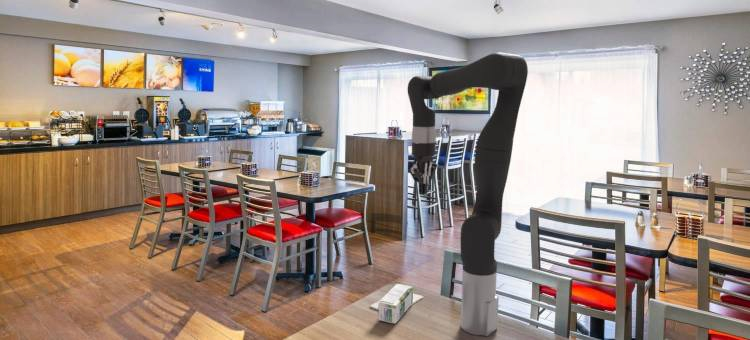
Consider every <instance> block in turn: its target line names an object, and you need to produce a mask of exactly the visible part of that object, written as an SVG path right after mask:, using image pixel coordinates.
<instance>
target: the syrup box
mask: <svg viewBox="0 0 750 340" xmlns="http://www.w3.org/2000/svg"><path fill="white" fill-rule="evenodd" d="M413 293H414V286H411V285H406V284H400V283H396V284H395V285H394V286H393V287H392V288H391V289H390V290H389V291H388V292H387V293H386V294H385V295H384V296H383V297H382V298H380V300H378V301H379V306H378V310H377V320H379V321H382V322H386V323H390V324H396V323H398V321H399V320H400V319H401V318H402V317H403V315H404V314H405V313H406V312H407V311H408V310H409V308H410V307H411V306H413V305H412V303H413Z"/></svg>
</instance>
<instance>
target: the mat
mask: <svg viewBox="0 0 750 340" xmlns="http://www.w3.org/2000/svg"><path fill="white" fill-rule="evenodd" d="M424 297H425V296H423V295H420V294H417V293H414V292H413V303H412V305H411V306H413V305H414V304H416V303H418V302H420V301H421V300H423V299H424ZM379 301H380V300H378V301H376V302H374V303H372V304H370V305H369V308H371V309H374V310H375V311H378V306H379Z"/></svg>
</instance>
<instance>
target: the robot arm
mask: <svg viewBox="0 0 750 340" xmlns="http://www.w3.org/2000/svg"><path fill="white" fill-rule="evenodd" d="M528 74H529V69H528V63H527V61H526V59H525V58H524V57H523V56H522V55H520V54H513V53H508V52H507V53H506V52H500V51H499V52H493V53H489V54H487V55H485V56H483V57H481V58H480V59H477V60H476V61H473V62H471V63H469V64H467V65H464V66H461V67H457V68H452V69H448V70H444V71H440V72H438V73H435V74H434V75H432V76H431V75H430V76H420V75H416V76H413V77H411V79H409V81H408V84H407V95H408V99H409V103H410V107H411V112H412V132H411V156H412V157H414V159H413V165H412V167H409V168H408V172H409V174H410V176H411V177H412V179H413V181H414V182H415V183H418V194H419V195H421V196H425V195H427V194H428V183H429V182H430V181H432V180H433V177H434V175H435V173H436V170H437V168H438V164H437V163H434V159H433V157H436V153H437V152H436V149H437V148H436V147H437V145H436V139H437V138H436V137H437V134H436V133H437V132H436V110H435V109H434V108H433V107H430V106H428V105H426V101H425V100H434V99H435V100H436V99H439V98H442V97H445V96H446V97H447V96H452V95H457V94H461V93H463V92H464V91H466V90H468V89H472V88H479V89H480V88H483V89H491V90H495V91H498V93H497V99H496V104H495V107H494V110H493V112H492V114H491V116H490V117H489V119H488V121H487V122H486V123H485V125H484V126H483V128H482V130H481V131H480V133H479V135H478V138H477V141H476V147H475V154H474V162H473V163H474V164H473V165H474V167H473V168H474V174H475V175H474V177H475V183H476V195H475V200H474V206H473V208H472V212H471V215H470V216H468V217H466V219H464V221H463V223H462V225H461V227H460V260H461V263H462V270H461V271H462V276H461V278H462V279H461V306H460V307H461V310H460V311H461V314H460V327H461V329H462V330H463V331H464V332H465V333H468V334H470V335H473V336H483V337H489V336H490V335H491V334H492V333H494V332H496V330H497V329H498V322H499V321H498V319H499V318H498V317H499V300H500V299H499V296H497V294H496V293H497V272H498V270H497V269H498V261H497V260H496V258H495V245H496V244H495V243H496V242H495V241H496V240H497V239H498V238H499V236H500V234H501V231H502V223H503V222H502V220H503V219H502V216H503V200H504V194H505V188H506V186H507V185H506V183H507V180H508V175H509V171H510V166H511V160H512V152H513V145H514V137H515V133H516V128H517V127H516V126H517V122H518V116H519V111H520V107H521V103H522V101H523V100H522V99H523V96H524V92H525V88H526V85H527V84H526V83H527V80H528Z"/></svg>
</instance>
